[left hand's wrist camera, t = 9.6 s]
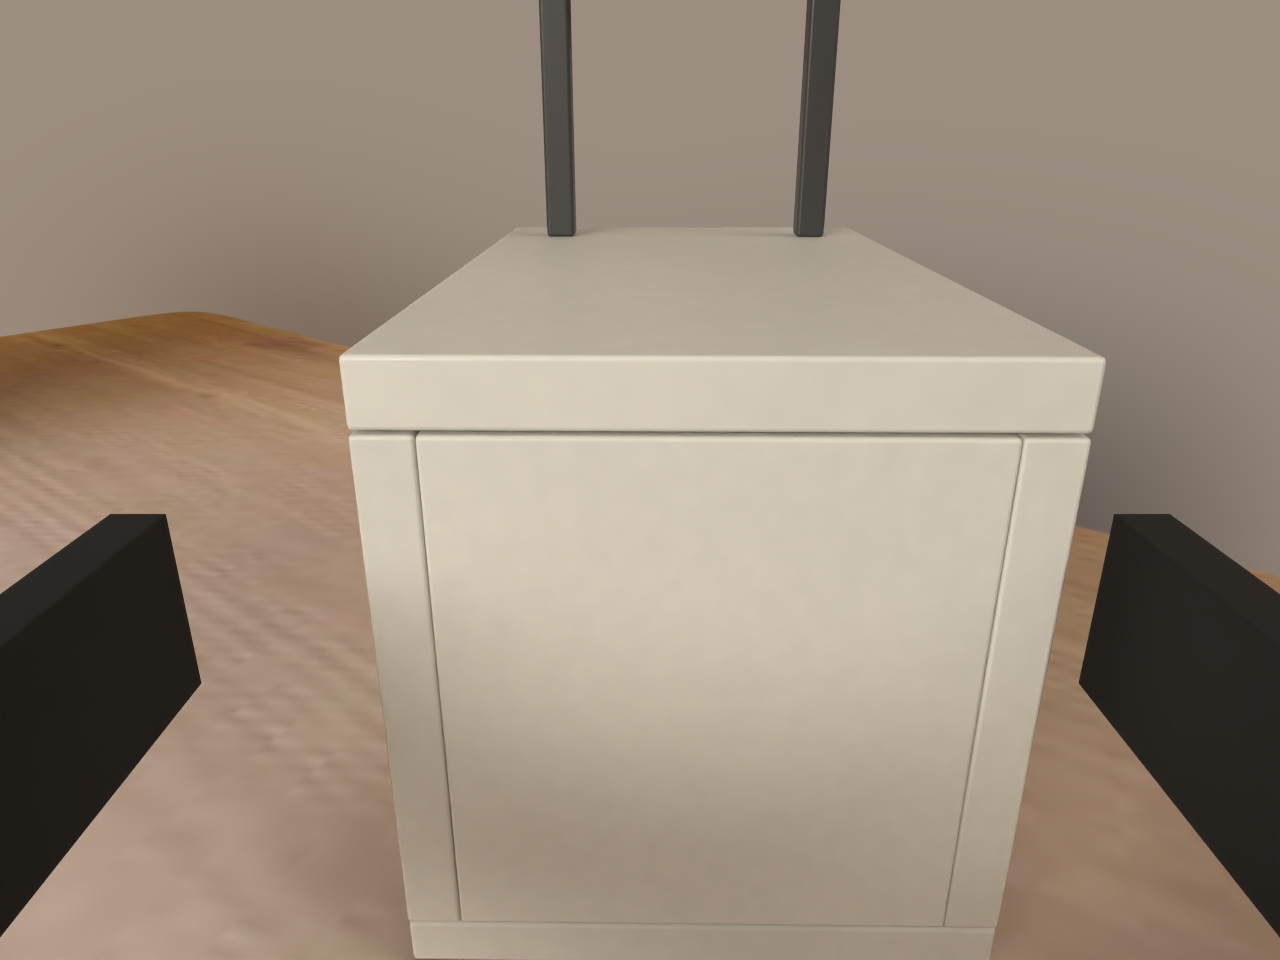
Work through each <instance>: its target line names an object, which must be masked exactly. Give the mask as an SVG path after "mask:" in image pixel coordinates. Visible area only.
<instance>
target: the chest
mask: <svg viewBox="0 0 1280 960" xmlns="http://www.w3.org/2000/svg"><path fill="white" fill-rule="evenodd" d="M1090 445H1091V442H1090V439H1089V438H1088V437H1086V436H1085V435H1083V434H1082V433H867V432H649V431H431V430H355V431H354V432H353V433H352V434H351V435H350V436H349V446H350V454H351V462H352V470H353V478H354V486H355V494H356V502H357V510H358V518H359V526H360V534H361V542H362V550H363V558H364V566H365V574H366V582H367V590H368V598H369V606H370V614H371V622H372V630H373V638H374V647H375V655H376V663H377V671H378V679H379V687H380V695H381V703H382V711H383V719H384V727H385V735H386V743H387V751H388V759H389V767H390V775H391V783H392V791H393V799H394V807H395V815H396V823H397V831H398V839H399V847H400V855H401V863H402V871H403V880H404V888H405V896H406V904H407V912H408V919H409V920H410V930H411V938H412V946H413V953H414V957H415V958H417V959H457V960H990V956H991V950H992V945H993V940H994V935H995V927H996V926H997V924H998V919H999V914H1000V909H1001V904H1002V899H1003V893H1004V888H1005V883H1006V878H1007V873H1008V868H1009V863H1010V857H1011V852H1012V847H1013V842H1014V837H1015V832H1016V826H1017V821H1018V816H1019V811H1020V806H1021V801H1022V795H1023V790H1024V785H1025V780H1026V775H1027V770H1028V765H1029V759H1030V754H1031V749H1032V744H1033V739H1034V734H1035V728H1036V723H1037V718H1038V713H1039V708H1040V703H1041V698H1042V692H1043V687H1044V682H1045V677H1046V672H1047V667H1048V661H1049V656H1050V651H1051V646H1052V641H1053V636H1054V630H1055V625H1056V620H1057V615H1058V610H1059V605H1060V600H1061V594H1062V589H1063V584H1064V579H1065V574H1066V569H1067V563H1068V558H1069V553H1070V548H1071V543H1072V538H1073V533H1074V527H1075V522H1076V517H1077V512H1078V507H1079V502H1080V496H1081V491H1082V486H1083V481H1084V476H1085V470H1086V465H1087V460H1088V455H1089V450H1090Z"/></svg>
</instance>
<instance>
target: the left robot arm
mask: <svg viewBox="0 0 1280 960" xmlns="http://www.w3.org/2000/svg"><path fill="white" fill-rule="evenodd" d="M200 684H201V679H200V675H199V670H198V665H197V660H196V656H195V651H194V646H193V641H192V637H191V632H190V627H189V622H188V618H187V613H186V608H185V603H184V599H183V594H182V589H181V584H180V580H179V575H178V570H177V565H176V561H175V556H174V551H173V546H172V542H171V537H170V532H169V527H168V523H167V518H166V514H110V515H108V516H107V517H106V518H104V519H103V520H102V521H100V522H99V523H97V524H96V525H95V526H93V527H92V528H91V529H89V530H88V531H86V532H85V533H84V534H82V535H81V536H80V537H78V538H77V539H75V540H74V541H73V542H71V543H70V544H69V545H67V546H66V547H64V548H63V549H62V550H60V551H59V552H58V553H56V554H55V555H53V556H52V557H51V558H49V559H48V560H47V561H45V562H44V563H42V564H41V565H40V566H38V567H37V568H36V569H34V570H33V571H31V572H30V573H29V574H27V575H26V576H25V577H23V578H22V579H20V580H19V581H18V582H16V583H15V584H14V585H12V586H11V587H9V588H8V589H7V590H5V591H4V592H3V593H1V594H0V937H1V936H2V934H3V933H4V932H5V931H6V929H7V928H8V927H9V925H10V924H11V923H12V922H13V920H14V919H15V918H16V917H17V915H18V914H19V913H20V912H21V910H22V909H23V908H24V907H25V905H26V904H27V903H28V901H29V900H30V899H31V898H32V896H33V895H34V894H35V893H36V891H37V890H38V889H39V888H40V886H41V885H42V884H43V883H44V881H45V880H46V879H47V877H48V876H49V875H50V874H51V872H52V871H53V870H54V869H55V867H56V866H57V865H58V864H59V862H60V861H61V860H62V859H63V857H64V856H65V855H66V853H67V852H68V851H69V850H70V848H71V847H72V846H73V845H74V843H75V842H76V841H77V840H78V838H79V837H80V836H81V835H82V833H83V832H84V831H85V829H86V828H87V827H88V826H89V824H90V823H91V822H92V821H93V819H94V818H95V817H96V816H97V814H98V813H99V812H100V811H101V809H102V808H103V807H104V805H105V804H106V803H107V802H108V800H109V799H110V798H111V797H112V795H113V794H114V793H115V792H116V790H117V789H118V788H119V787H120V785H121V784H122V783H123V781H124V780H125V779H126V778H127V776H128V775H129V774H130V773H131V771H132V770H133V769H134V768H135V766H136V765H137V764H138V763H139V761H140V760H141V759H142V757H143V756H144V755H145V754H146V752H147V751H148V750H149V749H150V747H151V746H152V745H153V744H154V742H155V741H156V740H157V739H158V737H159V736H160V735H161V733H162V732H163V731H164V730H165V728H166V727H167V726H168V725H169V723H170V722H171V721H172V720H173V718H174V717H175V716H176V715H177V713H178V712H179V711H180V709H181V708H182V707H183V706H184V704H185V703H186V702H187V701H188V699H189V698H190V697H191V696H192V694H193V693H194V692H195V691H196V689H197V688H198V687H199V685H200ZM1079 684H1080V685H1081V687H1082V688H1083V689H1084V691H1085V692H1086V693H1087V694H1088V696H1089V697H1090V698H1091V699H1092V701H1093V702H1094V703H1095V704H1096V706H1097V707H1098V708H1099V709H1100V711H1101V712H1102V713H1103V715H1104V716H1105V717H1106V718H1107V720H1108V721H1109V722H1110V723H1111V725H1112V726H1113V727H1114V728H1115V730H1116V731H1117V732H1118V733H1119V735H1120V736H1121V737H1122V739H1123V740H1124V741H1125V742H1126V744H1127V745H1128V746H1129V747H1130V749H1131V750H1132V751H1133V752H1134V754H1135V755H1136V756H1137V757H1138V759H1139V760H1140V761H1141V763H1142V764H1143V765H1144V766H1145V768H1146V769H1147V770H1148V771H1149V773H1150V774H1151V775H1152V776H1153V778H1154V779H1155V780H1156V781H1157V783H1158V784H1159V785H1160V787H1161V788H1162V789H1163V790H1164V792H1165V793H1166V794H1167V795H1168V797H1169V798H1170V799H1171V800H1172V802H1173V803H1174V804H1175V805H1176V807H1177V808H1178V809H1179V811H1180V812H1181V813H1182V814H1183V816H1184V817H1185V818H1186V819H1187V821H1188V822H1189V823H1190V824H1191V826H1192V827H1193V828H1194V829H1195V831H1196V832H1197V833H1198V835H1199V836H1200V837H1201V838H1202V840H1203V841H1204V842H1205V843H1206V845H1207V846H1208V847H1209V848H1210V850H1211V851H1212V852H1213V853H1214V855H1215V856H1216V857H1217V859H1218V860H1219V861H1220V862H1221V864H1222V865H1223V866H1224V867H1225V869H1226V870H1227V871H1228V872H1229V874H1230V875H1231V876H1232V877H1233V879H1234V880H1235V881H1236V883H1237V884H1238V885H1239V886H1240V888H1241V889H1242V890H1243V891H1244V893H1245V894H1246V895H1247V896H1248V898H1249V899H1250V900H1251V901H1252V903H1253V904H1254V905H1255V907H1256V908H1257V909H1258V910H1259V912H1260V913H1261V914H1262V915H1263V917H1264V918H1265V919H1266V920H1267V922H1268V923H1269V924H1270V925H1271V927H1272V928H1273V929H1274V931H1275V932H1276V933H1277V934H1278V936H1279V937H1280V594H1279V593H1277V592H1276V591H1275V590H1273V589H1272V588H1271V587H1269V586H1268V585H1266V584H1265V583H1264V582H1262V581H1261V580H1260V579H1258V578H1257V577H1255V576H1254V575H1253V574H1251V573H1250V572H1249V571H1247V570H1246V569H1244V568H1243V567H1242V566H1240V565H1239V564H1238V563H1236V562H1235V561H1233V560H1232V559H1231V558H1229V557H1228V556H1227V555H1225V554H1224V553H1222V552H1221V551H1220V550H1218V549H1217V548H1216V547H1214V546H1213V545H1211V544H1210V543H1209V542H1207V541H1206V540H1205V539H1203V538H1202V537H1200V536H1199V535H1198V534H1196V533H1195V532H1193V531H1192V530H1191V529H1189V528H1188V527H1187V526H1185V525H1184V524H1183V523H1181V522H1180V521H1178V520H1177V519H1176V518H1174V517H1173V516H1172V515H1170V514H1114V518H1113V523H1112V528H1111V532H1110V537H1109V542H1108V546H1107V551H1106V556H1105V561H1104V565H1103V570H1102V575H1101V580H1100V584H1099V589H1098V594H1097V599H1096V603H1095V608H1094V613H1093V618H1092V622H1091V627H1090V632H1089V637H1088V641H1087V646H1086V651H1085V656H1084V660H1083V665H1082V670H1081V675H1080V679H1079Z"/></svg>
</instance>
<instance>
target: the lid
mask: <svg viewBox="0 0 1280 960" xmlns="http://www.w3.org/2000/svg"><path fill="white" fill-rule="evenodd" d="M839 14H840V0H807V13H806V29H805V46H804V62H803V79H802V95H801V112H800V128H799V145H798V162H797V178H796V195H795V211H794V227H793V228H621V227H620V228H618V227H616V228H615V227H614V228H613V227H611V228H609V227H606V228H605V227H576V207H575V165H574V125H573V85H572V45H571V4H570V0H539V15H540V43H541V70H542V98H543V126H544V154H545V181H546V209H547V227H518V228H516V229H515V230H513V231H512V232H511V233H509V234H508V235H507V236H505V237H504V238H502V239H501V240H500V241H498V242H497V243H495V244H494V245H493V246H491V247H490V248H489V249H487V250H486V251H484V252H483V253H482V254H480V255H479V256H477V257H476V258H475V259H473V260H472V261H471V262H469V263H468V264H466V265H465V266H464V267H462V268H461V269H459V270H458V271H457V272H455V273H454V274H452V275H451V276H450V277H448V278H447V279H446V280H444V281H443V282H441V283H440V284H439V285H437V286H436V287H434V288H433V289H432V290H430V291H429V292H428V293H426V294H425V295H423V296H422V297H421V298H419V299H418V300H416V301H415V302H414V303H412V304H411V305H409V306H408V307H407V308H405V309H404V310H403V311H401V312H400V313H398V314H397V315H396V316H394V317H393V318H392V319H390V320H389V321H387V322H386V323H385V324H383V325H382V326H380V327H379V328H378V329H376V330H375V331H373V332H372V333H371V334H369V335H368V336H366V337H365V338H364V339H362V340H361V341H360V342H358V343H357V344H355V345H354V346H353V347H351V348H350V349H348V350H347V351H346V352H344V353H343V354H342V355H340V358H339V363H340V371H341V379H342V387H343V395H344V403H345V411H346V419H347V426H348V428H349V429H351V430H431V431H649V432H867V433H1090V432H1092V430H1093V427H1094V422H1095V417H1096V412H1097V407H1098V402H1099V397H1100V391H1101V386H1102V381H1103V376H1104V371H1105V366H1106V360H1105V358H1104V357H1102V356H1100V355H1098V354H1096V353H1094V352H1092V351H1090V350H1088V349H1086V348H1084V347H1082V346H1080V345H1078V344H1076V343H1074V342H1072V341H1070V340H1068V339H1066V338H1064V337H1062V336H1060V335H1058V334H1056V333H1054V332H1052V331H1050V330H1048V329H1046V328H1044V327H1042V326H1040V325H1038V324H1036V323H1034V322H1032V321H1030V320H1028V319H1026V318H1024V317H1022V316H1020V315H1018V314H1016V313H1015V312H1012V311H1010V310H1009V309H1007V308H1005V307H1003V306H1001V305H999V304H997V303H995V302H993V301H991V300H989V299H987V298H985V297H983V296H981V295H979V294H977V293H975V292H973V291H971V290H969V289H967V288H965V287H963V286H961V285H959V284H957V283H955V282H953V281H951V280H949V279H947V278H945V277H943V276H941V275H939V274H937V273H935V272H933V271H931V270H929V269H927V268H925V267H923V266H921V265H919V264H917V263H916V262H913V261H912V260H910V259H908V258H906V257H904V256H902V255H900V254H898V253H896V252H894V251H892V250H890V249H888V248H886V247H884V246H882V245H880V244H878V243H876V242H874V241H872V240H870V239H868V238H866V237H864V236H862V235H860V234H858V233H856V232H854V231H852V230H850V229H848V228H824V220H825V206H826V193H827V179H828V165H829V152H830V137H831V124H832V110H833V96H834V83H835V69H836V55H837V41H838V28H839Z"/></svg>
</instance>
